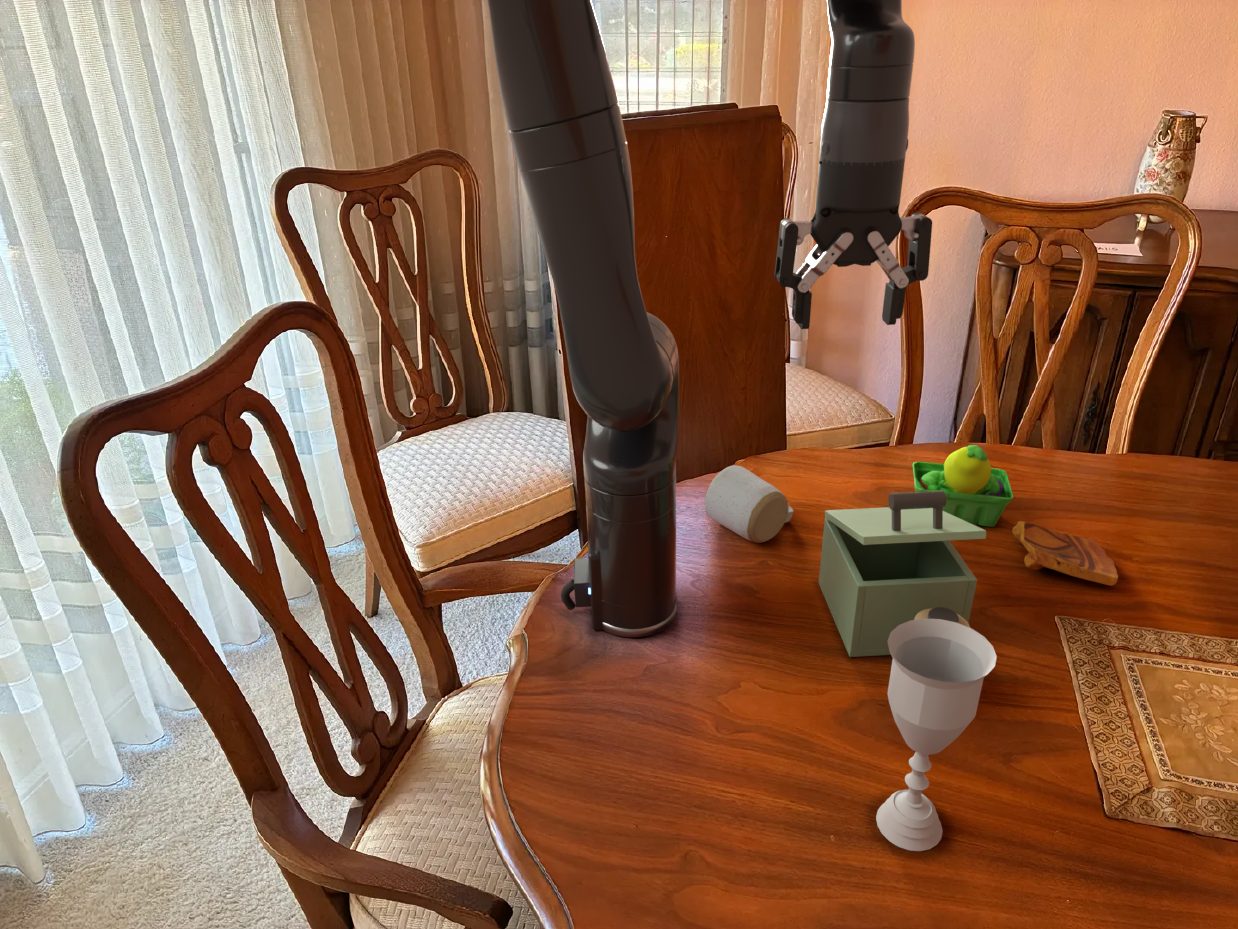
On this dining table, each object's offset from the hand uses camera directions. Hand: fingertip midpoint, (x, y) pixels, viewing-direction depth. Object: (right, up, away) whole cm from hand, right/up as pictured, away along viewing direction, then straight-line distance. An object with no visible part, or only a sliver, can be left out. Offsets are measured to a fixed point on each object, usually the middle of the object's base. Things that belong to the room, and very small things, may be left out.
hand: (845, 324), depth 85 cm
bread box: (+6, -30, +7) cm, 32 cm away
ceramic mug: (-5, -22, +24) cm, 33 cm away
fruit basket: (+20, -21, +24) cm, 38 cm away
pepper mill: (+7, -36, -3) cm, 37 cm away
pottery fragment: (+29, -26, +14) cm, 41 cm away
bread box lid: (+6, -20, +2) cm, 21 cm away
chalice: (+1, -43, -16) cm, 46 cm away
